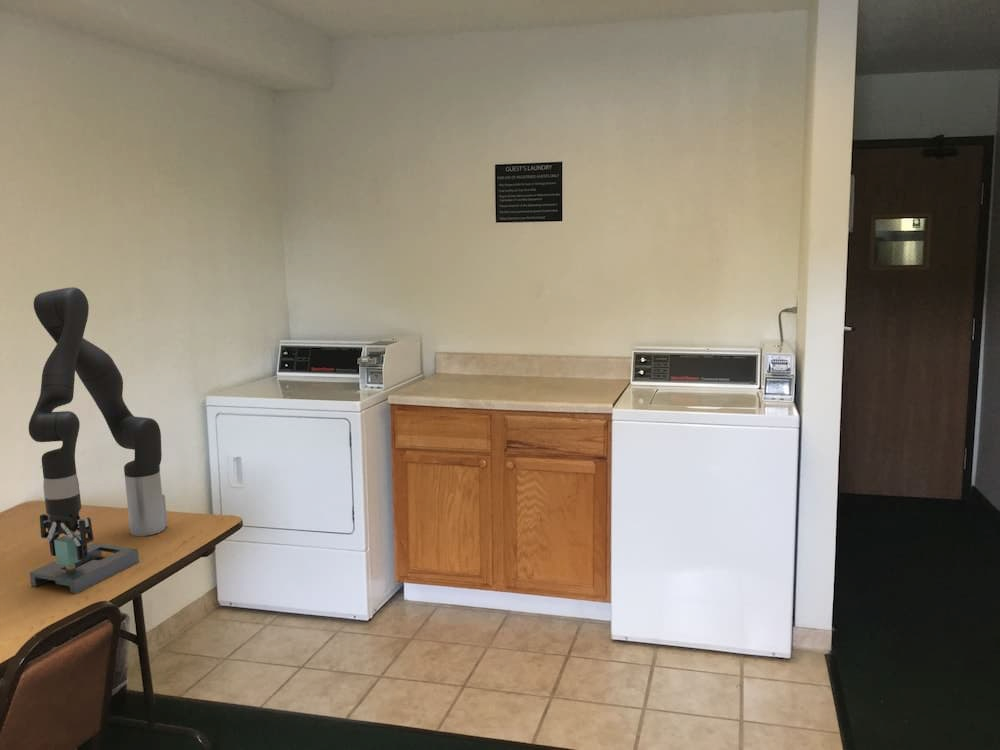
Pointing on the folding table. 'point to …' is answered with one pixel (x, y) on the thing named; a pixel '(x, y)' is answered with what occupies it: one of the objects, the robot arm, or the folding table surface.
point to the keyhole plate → (87, 567)
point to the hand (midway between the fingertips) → (69, 556)
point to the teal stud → (66, 554)
